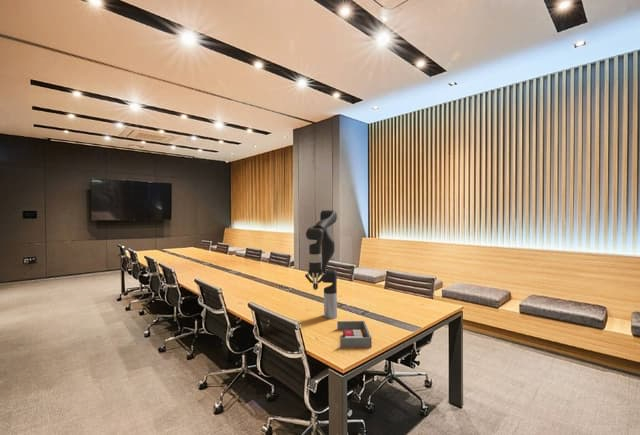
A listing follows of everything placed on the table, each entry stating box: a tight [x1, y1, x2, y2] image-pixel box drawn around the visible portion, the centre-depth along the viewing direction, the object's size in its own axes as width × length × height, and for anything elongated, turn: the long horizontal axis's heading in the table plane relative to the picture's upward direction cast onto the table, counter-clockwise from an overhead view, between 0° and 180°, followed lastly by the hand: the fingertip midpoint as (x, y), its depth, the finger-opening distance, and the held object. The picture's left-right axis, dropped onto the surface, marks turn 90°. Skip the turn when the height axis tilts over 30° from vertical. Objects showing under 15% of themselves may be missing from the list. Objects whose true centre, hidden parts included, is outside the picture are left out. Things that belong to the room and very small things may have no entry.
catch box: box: [336, 320, 373, 349], centre depth 176 cm, size 26×17×5 cm, turn 0°
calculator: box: [342, 329, 364, 338], centre depth 173 cm, size 11×4×15 cm
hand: (315, 289), depth 182 cm, fingers closed
